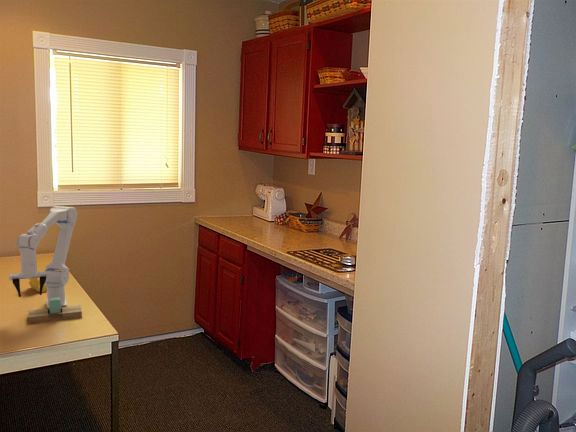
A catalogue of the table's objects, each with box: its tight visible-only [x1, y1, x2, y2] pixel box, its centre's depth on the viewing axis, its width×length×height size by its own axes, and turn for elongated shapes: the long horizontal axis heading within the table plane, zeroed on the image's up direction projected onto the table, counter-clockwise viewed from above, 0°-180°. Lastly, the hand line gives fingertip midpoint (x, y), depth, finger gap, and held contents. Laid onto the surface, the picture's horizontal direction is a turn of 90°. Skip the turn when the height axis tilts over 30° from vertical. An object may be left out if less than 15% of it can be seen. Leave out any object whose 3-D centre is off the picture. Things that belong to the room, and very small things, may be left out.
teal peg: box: [49, 297, 62, 314], centre depth 215 cm, size 4×4×8 cm
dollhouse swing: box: [28, 278, 47, 293], centre depth 250 cm, size 10×10×9 cm
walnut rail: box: [27, 304, 83, 324], centre depth 215 cm, size 8×20×2 cm, turn 116°
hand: (30, 295), depth 213 cm, fingers open, 7 cm apart
